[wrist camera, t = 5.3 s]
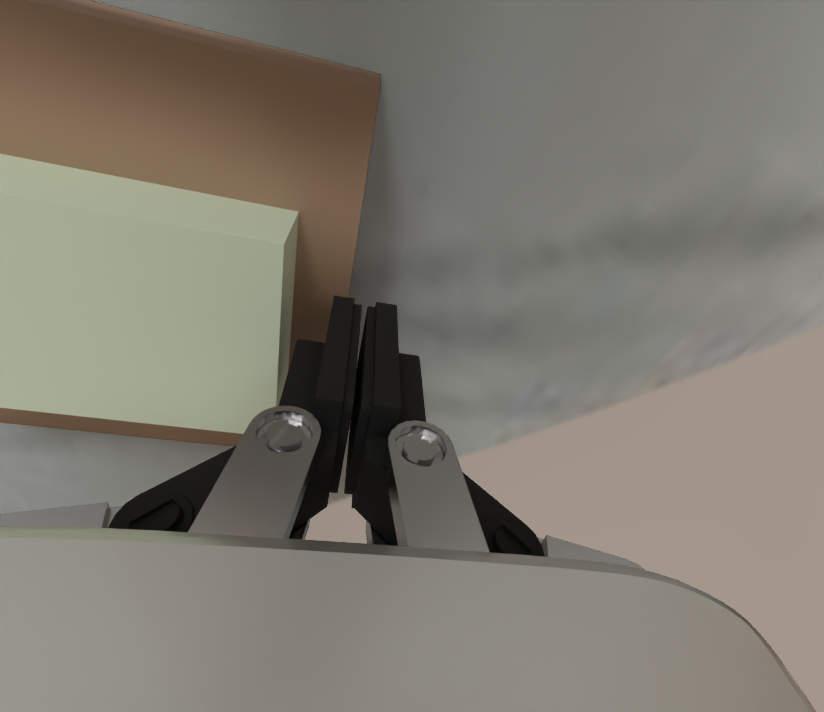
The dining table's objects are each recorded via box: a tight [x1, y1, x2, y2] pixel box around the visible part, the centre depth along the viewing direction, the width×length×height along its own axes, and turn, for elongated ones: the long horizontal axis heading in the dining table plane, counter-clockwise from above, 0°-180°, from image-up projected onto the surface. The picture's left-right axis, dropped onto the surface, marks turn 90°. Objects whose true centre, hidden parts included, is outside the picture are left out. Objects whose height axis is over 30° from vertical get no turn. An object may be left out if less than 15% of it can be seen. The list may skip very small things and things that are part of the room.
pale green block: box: [0, 154, 299, 434], centre depth 11 cm, size 9×6×2 cm, turn 78°
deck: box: [0, 0, 381, 447], centre depth 13 cm, size 12×14×3 cm
